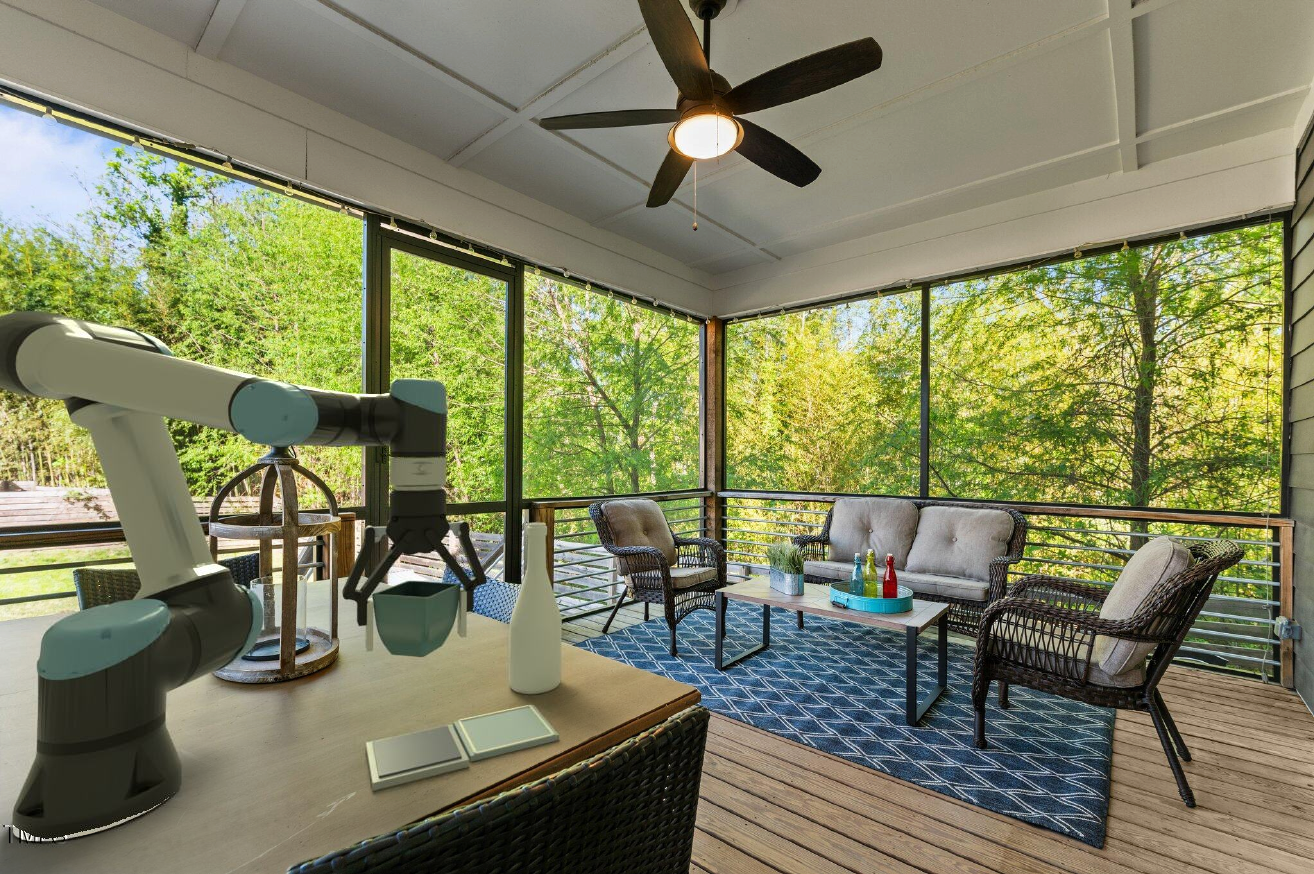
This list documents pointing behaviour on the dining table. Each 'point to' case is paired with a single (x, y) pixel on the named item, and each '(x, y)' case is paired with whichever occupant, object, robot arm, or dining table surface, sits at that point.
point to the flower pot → (415, 616)
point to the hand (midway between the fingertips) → (417, 641)
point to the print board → (503, 732)
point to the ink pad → (414, 756)
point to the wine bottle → (535, 624)
